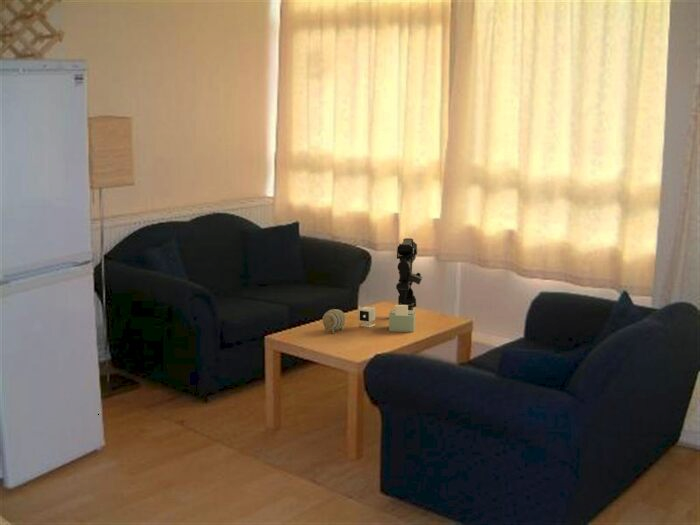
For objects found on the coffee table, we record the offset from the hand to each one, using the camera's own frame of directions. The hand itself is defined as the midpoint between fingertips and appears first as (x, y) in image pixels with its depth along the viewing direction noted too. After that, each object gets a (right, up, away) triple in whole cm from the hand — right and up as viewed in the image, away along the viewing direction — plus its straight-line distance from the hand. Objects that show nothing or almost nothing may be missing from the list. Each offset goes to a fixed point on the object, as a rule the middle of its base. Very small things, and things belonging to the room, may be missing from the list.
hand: (404, 299), depth 416 cm
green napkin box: (-2, -15, -9) cm, 18 cm away
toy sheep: (-35, -16, -9) cm, 39 cm away
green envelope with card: (-3, -15, -14) cm, 20 cm away
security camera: (-19, -14, -3) cm, 24 cm away
